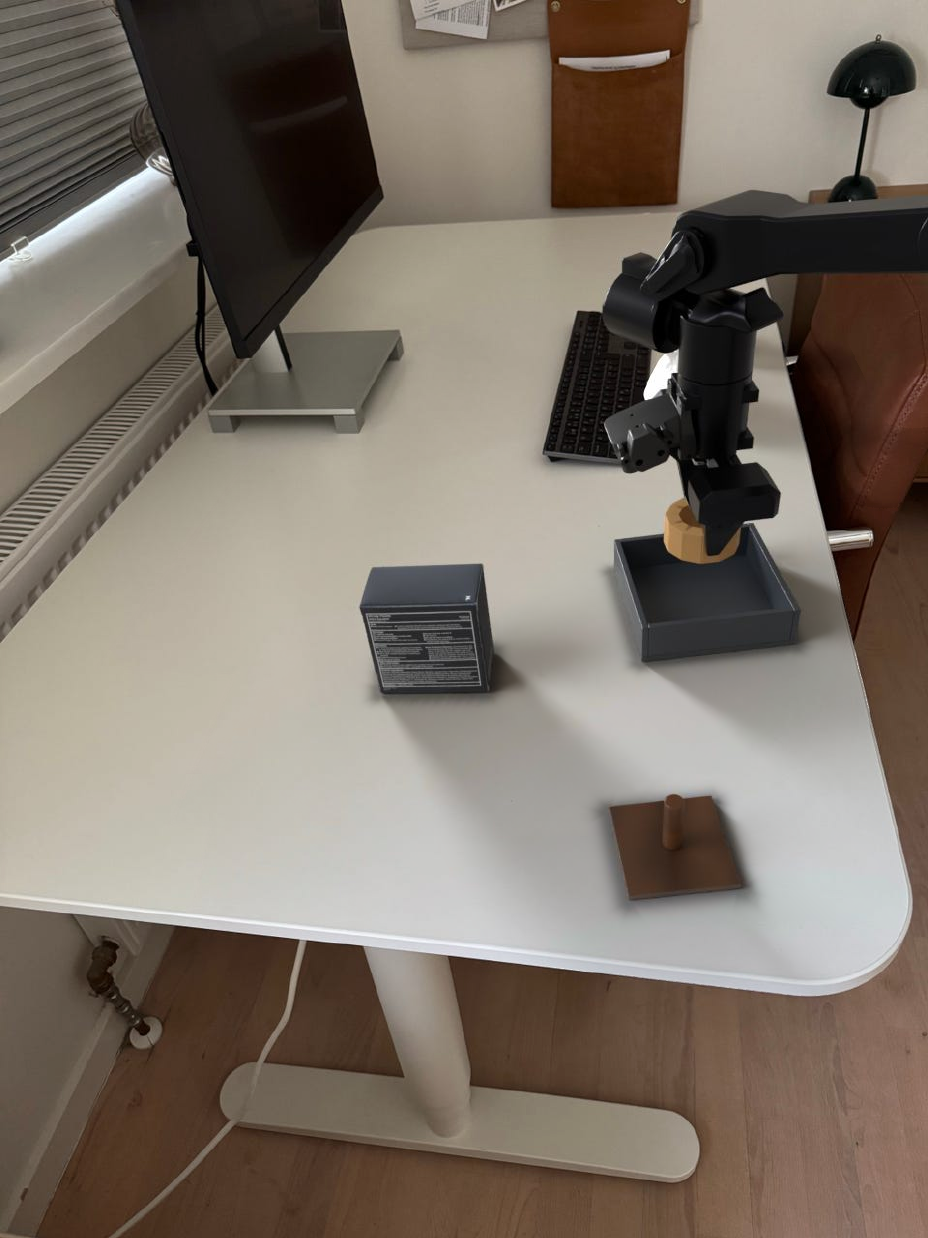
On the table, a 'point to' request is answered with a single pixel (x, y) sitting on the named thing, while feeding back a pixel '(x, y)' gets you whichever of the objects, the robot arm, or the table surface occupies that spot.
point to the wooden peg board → (672, 847)
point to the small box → (429, 628)
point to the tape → (691, 536)
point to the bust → (662, 374)
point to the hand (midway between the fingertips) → (702, 532)
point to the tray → (703, 599)
